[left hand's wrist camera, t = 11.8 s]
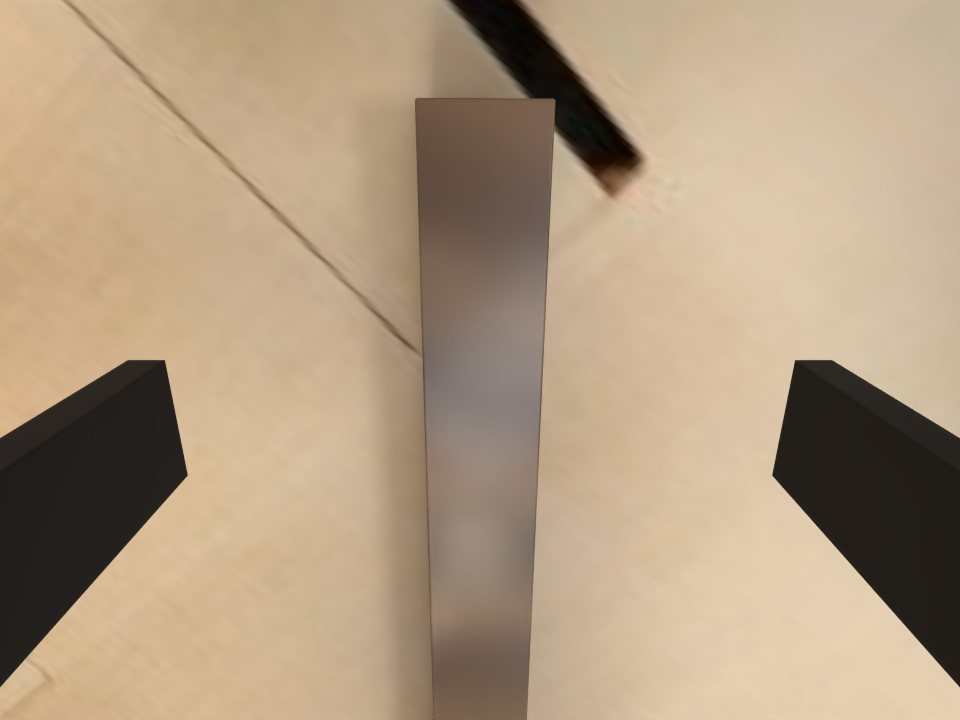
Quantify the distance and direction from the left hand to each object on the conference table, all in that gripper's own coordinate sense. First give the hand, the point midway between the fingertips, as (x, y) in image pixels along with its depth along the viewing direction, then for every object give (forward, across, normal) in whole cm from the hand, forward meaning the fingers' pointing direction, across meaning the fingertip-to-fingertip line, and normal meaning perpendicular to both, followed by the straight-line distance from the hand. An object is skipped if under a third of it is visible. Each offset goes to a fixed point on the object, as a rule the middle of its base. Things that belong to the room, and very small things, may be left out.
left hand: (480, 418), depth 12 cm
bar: (+20, 0, -29) cm, 35 cm away
